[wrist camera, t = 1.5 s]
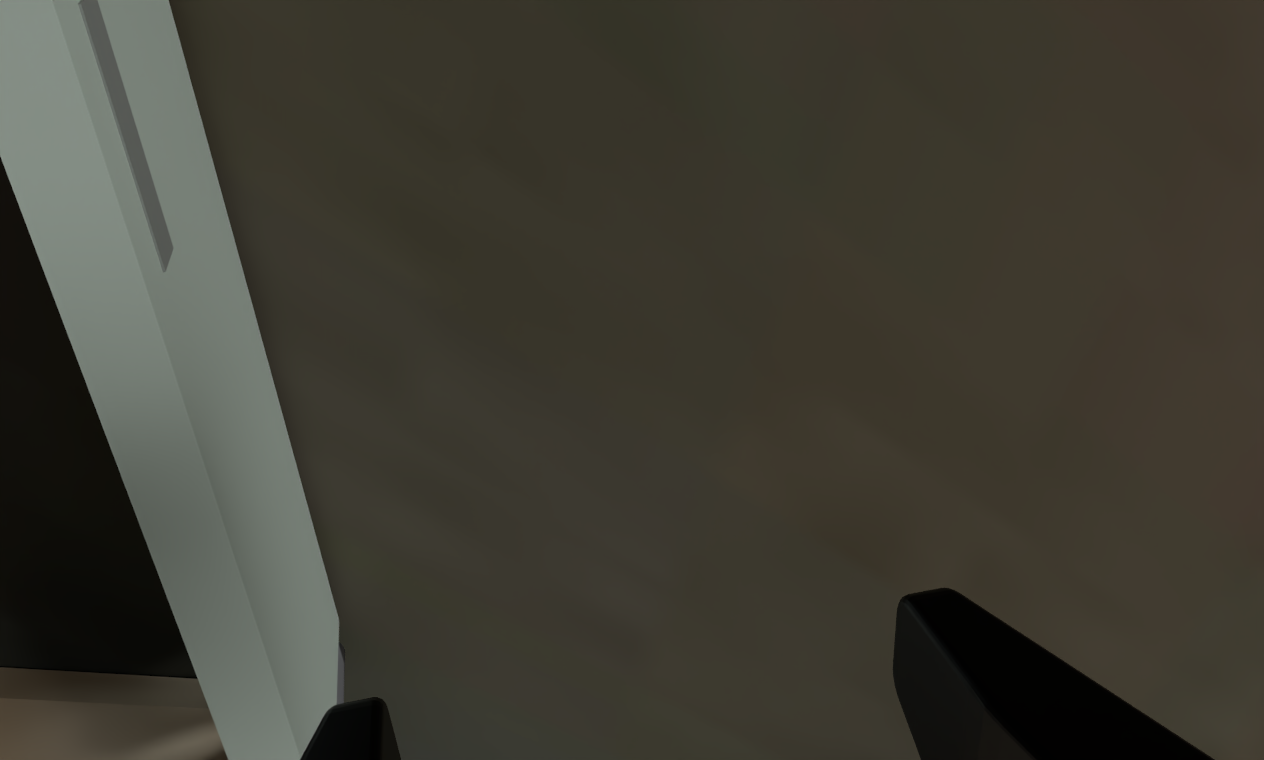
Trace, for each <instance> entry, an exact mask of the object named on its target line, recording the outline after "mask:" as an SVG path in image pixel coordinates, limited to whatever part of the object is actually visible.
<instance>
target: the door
mask: <svg viewBox="0 0 1264 760" xmlns="http://www.w3.org/2000/svg"><path fill="white" fill-rule="evenodd" d="M0 157H1V159H2V162H3V165H4V167H5V170H6V173H7V175H8V178H9V181H10V183H11V186H12V189H13V191H14V194H15V196H16V199H17V202H18V204H19V207H20V210H21V212H22V215H23V218H24V220H25V223H26V226H27V228H28V231H29V234H30V236H31V239H32V241H33V244H34V247H35V249H36V252H37V255H38V257H39V260H40V263H41V265H42V268H43V271H44V273H45V276H46V279H47V281H48V284H49V286H50V289H51V292H52V294H53V297H54V300H55V302H56V305H57V308H58V310H59V313H60V316H61V318H62V321H63V324H64V326H65V329H66V331H67V334H68V337H69V339H70V342H71V345H72V347H73V350H74V353H75V355H76V358H77V361H78V363H79V366H80V369H81V371H82V374H83V376H84V379H85V382H86V384H87V387H88V390H89V392H90V395H91V398H92V400H93V403H94V406H95V408H96V411H97V414H98V416H99V419H100V421H101V424H102V427H103V429H104V432H105V435H106V437H107V440H108V443H109V445H110V448H111V451H112V453H113V456H114V458H115V461H116V464H117V466H118V469H119V472H120V474H121V477H122V480H123V482H124V485H125V488H126V490H127V493H128V496H129V498H130V501H131V503H132V506H133V509H134V511H135V514H136V517H137V519H138V522H139V525H140V527H141V530H142V533H143V535H144V538H145V541H146V543H147V546H148V548H149V551H150V554H151V556H152V559H153V562H154V564H155V567H156V570H157V572H158V575H159V578H160V580H161V583H162V586H163V588H164V591H165V593H166V596H167V599H168V601H169V604H170V607H171V609H172V612H173V615H174V617H175V620H176V623H177V625H178V628H179V631H180V633H181V636H182V638H183V641H184V644H185V646H186V649H187V652H188V654H189V657H190V660H191V662H192V665H193V668H194V670H195V673H196V676H197V678H198V681H199V683H200V686H201V689H202V691H203V694H204V697H205V699H206V702H207V705H208V707H209V710H210V713H211V715H212V718H213V721H214V723H215V726H216V728H217V731H218V734H219V736H220V739H221V742H222V744H223V747H224V750H225V752H226V755H227V758H228V760H300V759H301V757H302V755H303V753H304V751H305V750H306V748H307V746H308V744H309V742H310V740H311V738H312V737H313V735H314V733H315V731H316V729H317V727H318V726H319V724H320V722H321V720H322V718H323V716H324V715H325V713H326V712H327V710H328V709H330V708H331V707H332V706H334V705H337V704H342V703H344V671H345V650H344V647H343V646H342V644H341V643H340V642H338V641H339V618H338V615H337V611H336V607H335V604H334V600H333V597H332V593H331V589H330V586H329V582H328V578H327V575H326V571H325V567H324V564H323V560H322V557H321V553H320V549H319V546H318V542H317V538H316V535H315V531H314V527H313V524H312V520H311V517H310V513H309V509H308V506H307V502H306V498H305V495H304V491H303V487H302V484H301V480H300V477H299V473H298V469H297V466H296V462H295V458H294V455H293V451H292V447H291V444H290V440H289V437H288V433H287V429H286V426H285V422H284V418H283V415H282V411H281V407H280V404H279V400H278V397H277V393H276V389H275V386H274V382H273V378H272V375H271V371H270V368H269V364H268V360H267V357H266V353H265V349H264V346H263V342H262V338H261V335H260V331H259V328H258V324H257V320H256V317H255V313H254V309H253V306H252V302H251V298H250V295H249V291H248V288H247V284H246V280H245V277H244V273H243V269H242V266H241V262H240V258H239V255H238V251H237V248H236V244H235V240H234V237H233V233H232V229H231V226H230V222H229V218H228V215H227V211H226V208H225V204H224V200H223V197H222V193H221V189H220V186H219V182H218V178H217V175H216V171H215V168H214V164H213V160H212V157H211V153H210V149H209V146H208V142H207V138H206V135H205V131H204V128H203V124H202V120H201V117H200V113H199V109H198V106H197V102H196V99H195V95H194V91H193V88H192V84H191V80H190V77H189V73H188V69H187V66H186V62H185V59H184V55H183V51H182V48H181V44H180V40H179V37H178V33H177V29H176V26H175V22H174V19H173V15H172V11H171V8H170V4H169V0H0Z"/></svg>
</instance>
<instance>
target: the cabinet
mask: <svg viewBox="0 0 1264 760" xmlns="http://www.w3.org/2000/svg"><path fill="white" fill-rule="evenodd" d="M0 760H228V758H227V755H226V752H225V750H224V747H223V744H222V742H221V739H220V736H219V734H218V731H217V728H216V726H215V723H214V721H213V718H212V715H211V713H210V710H209V707H208V705H207V702H206V699H205V697H204V694H203V691H202V689H201V686H200V683H199V681H198V679H192V678H175V677H158V676H141V675H124V674H107V673H90V672H73V671H56V670H39V669H22V668H5V667H0Z"/></svg>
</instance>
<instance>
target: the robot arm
mask: <svg viewBox="0 0 1264 760" xmlns="http://www.w3.org/2000/svg"><path fill="white" fill-rule="evenodd" d="M893 677H894V683H895V688H896V691H897V695H898V698H899V701H900V704H901V706H902V709H903V712H904V714H905V717H906V720H907V723H908V725H909V728H910V731H911V733H912V736H913V739H914V742H915V744H916V747H917V750H918V752H919V755H920V758H921V760H1214V759H1213V758H1211V757H1210V756H1208V755H1207V754H1205V753H1204V752H1202V751H1201V750H1199V749H1198V748H1196V747H1194V746H1193V745H1191V744H1190V743H1188V742H1187V741H1185V740H1184V739H1182V738H1181V737H1179V736H1178V735H1176V734H1175V733H1173V732H1171V731H1170V730H1168V729H1167V728H1165V727H1164V726H1162V725H1161V724H1159V723H1158V722H1156V721H1155V720H1153V719H1152V718H1150V717H1149V716H1147V715H1145V714H1144V713H1142V712H1141V711H1139V710H1138V709H1136V708H1135V707H1133V706H1132V705H1130V704H1129V703H1127V702H1126V701H1124V700H1122V699H1121V698H1119V697H1118V696H1116V695H1115V694H1113V693H1112V692H1110V691H1109V690H1107V689H1106V688H1104V687H1103V686H1101V685H1100V684H1098V683H1096V682H1095V681H1093V680H1092V679H1090V678H1089V677H1087V676H1086V675H1084V674H1083V673H1081V672H1080V671H1078V670H1077V669H1075V668H1073V667H1072V666H1070V665H1069V664H1067V663H1066V662H1064V661H1063V660H1061V659H1060V658H1058V657H1057V656H1055V655H1054V654H1052V653H1051V652H1049V651H1047V650H1046V649H1044V648H1043V647H1041V646H1040V645H1038V644H1037V643H1035V642H1034V641H1032V640H1031V639H1029V638H1028V637H1026V636H1024V635H1023V634H1021V633H1020V632H1018V631H1017V630H1015V629H1014V628H1012V627H1011V626H1009V625H1008V624H1006V623H1005V622H1003V621H1002V620H1000V619H998V618H997V617H995V616H994V615H992V614H991V613H989V612H988V611H986V610H985V609H983V608H982V607H980V606H979V605H977V604H975V603H974V602H972V601H971V600H969V599H968V598H966V597H965V596H963V595H962V594H960V593H959V592H957V591H955V590H952V589H949V588H939V589H934V590H928V591H923V592H918V593H913V594H908V595H906V596H904V597H903V598H902V599H901V600H900V602H899V604H898V608H897V618H896V631H895V645H894V658H893ZM300 760H401V757H400V753H399V750H398V746H397V742H396V738H395V734H394V730H393V726H392V723H391V719H390V715H389V711H388V708H387V705H386V703H385V702H384V701H383V700H382V699H380V698H378V697H372V698H367V699H362V700H357V701H352V702H347V703H342V704H337V705H334V706H332V707H331V708H330V709H328V710H327V712H326V713H325V715H324V716H323V718H322V720H321V722H320V724H319V726H318V727H317V729H316V731H315V733H314V735H313V737H312V738H311V740H310V742H309V744H308V746H307V748H306V750H305V751H304V753H303V755H302V757H301V759H300Z"/></svg>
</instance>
